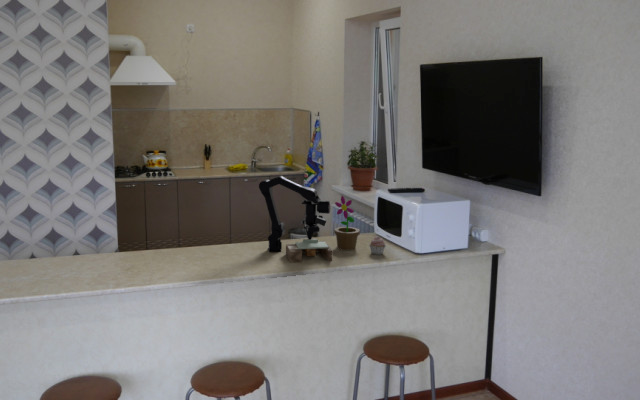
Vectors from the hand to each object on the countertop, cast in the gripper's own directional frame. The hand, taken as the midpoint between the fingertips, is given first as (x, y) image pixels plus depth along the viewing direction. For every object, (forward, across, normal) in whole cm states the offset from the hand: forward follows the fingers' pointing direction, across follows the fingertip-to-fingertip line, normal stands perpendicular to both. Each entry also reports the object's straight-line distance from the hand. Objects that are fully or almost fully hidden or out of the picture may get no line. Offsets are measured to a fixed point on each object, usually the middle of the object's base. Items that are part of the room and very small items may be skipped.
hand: (309, 240), depth 316 cm
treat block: (+7, -3, 0) cm, 8 cm away
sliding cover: (+1, -6, 0) cm, 6 cm away
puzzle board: (+7, -6, +2) cm, 9 cm away
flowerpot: (+7, +8, -23) cm, 26 cm away
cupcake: (+7, -5, -37) cm, 38 cm away
